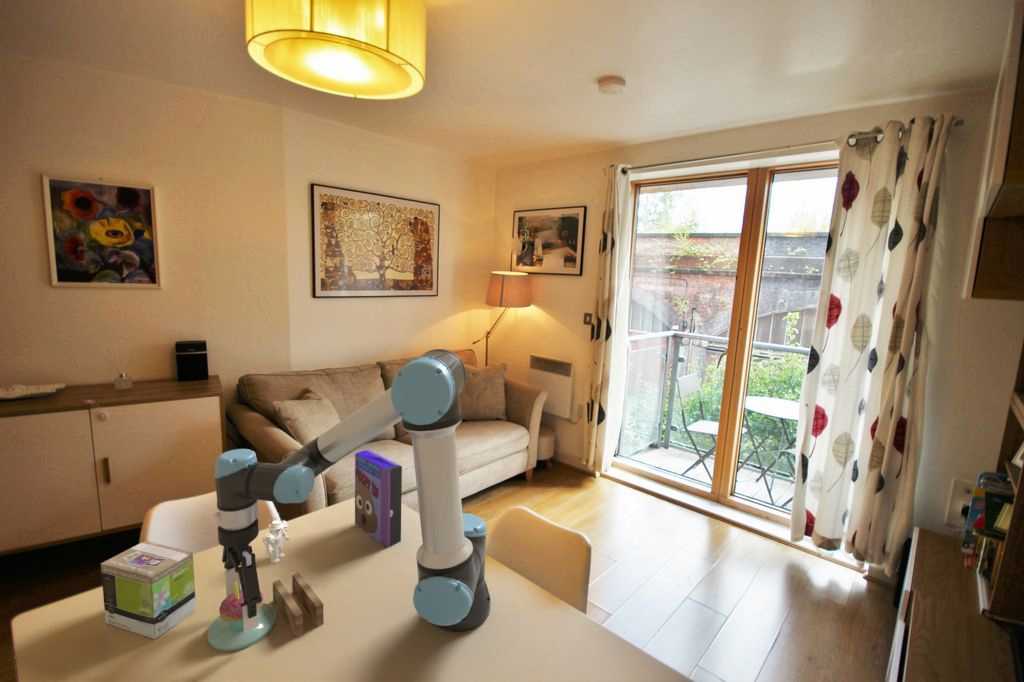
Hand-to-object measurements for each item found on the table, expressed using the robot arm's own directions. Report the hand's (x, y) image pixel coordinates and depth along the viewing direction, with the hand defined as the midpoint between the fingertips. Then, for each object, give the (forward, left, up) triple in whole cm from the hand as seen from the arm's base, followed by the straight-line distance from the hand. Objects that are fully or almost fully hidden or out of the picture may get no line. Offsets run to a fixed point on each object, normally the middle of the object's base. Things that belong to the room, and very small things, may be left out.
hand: (241, 610), depth 102 cm
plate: (0, 0, -4) cm, 4 cm away
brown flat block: (-3, -13, -4) cm, 14 cm away
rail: (-3, -8, -4) cm, 10 cm away
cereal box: (+15, -41, -4) cm, 44 cm away
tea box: (+17, +14, -4) cm, 22 cm away
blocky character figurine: (+21, -14, -4) cm, 26 cm away
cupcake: (0, 0, -3) cm, 3 cm away
